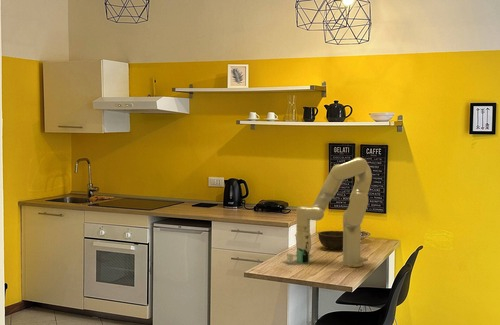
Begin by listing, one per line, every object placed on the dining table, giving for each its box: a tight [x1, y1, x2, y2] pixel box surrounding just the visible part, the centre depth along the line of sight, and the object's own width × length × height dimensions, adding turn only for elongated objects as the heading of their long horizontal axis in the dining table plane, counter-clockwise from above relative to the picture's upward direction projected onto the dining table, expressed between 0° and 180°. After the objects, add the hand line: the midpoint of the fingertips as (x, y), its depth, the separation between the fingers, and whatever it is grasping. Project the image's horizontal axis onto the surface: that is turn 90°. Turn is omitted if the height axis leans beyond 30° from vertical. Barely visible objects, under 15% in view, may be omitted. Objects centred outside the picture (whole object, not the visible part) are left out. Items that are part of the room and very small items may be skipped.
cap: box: [296, 249, 310, 263], centre depth 327 cm, size 5×5×7 cm
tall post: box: [286, 253, 294, 264], centre depth 324 cm, size 3×3×5 cm
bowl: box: [317, 230, 343, 251], centre depth 371 cm, size 22×22×10 cm
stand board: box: [282, 259, 312, 266], centre depth 325 cm, size 14×10×1 cm
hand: (302, 260), depth 327 cm, fingers closed on cap, 5 cm apart
